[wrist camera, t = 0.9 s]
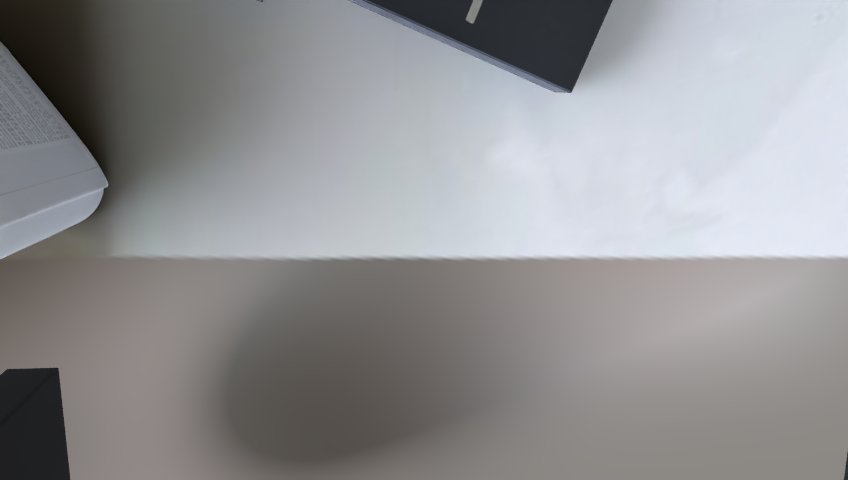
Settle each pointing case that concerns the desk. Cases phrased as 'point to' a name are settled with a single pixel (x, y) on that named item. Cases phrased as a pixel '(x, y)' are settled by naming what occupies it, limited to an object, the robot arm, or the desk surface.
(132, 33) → the desk surface
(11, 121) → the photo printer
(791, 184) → the desk surface
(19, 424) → the robot arm
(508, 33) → the dial panel
